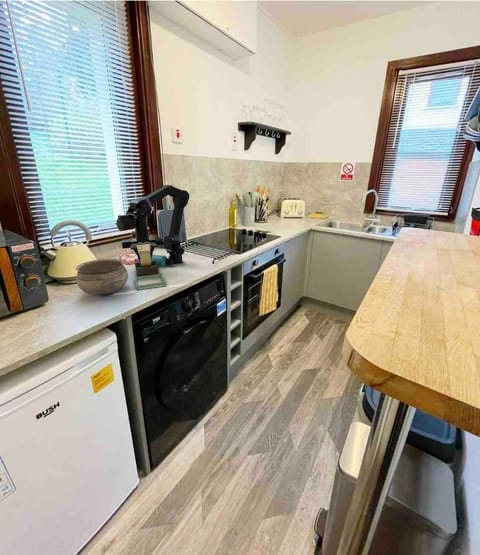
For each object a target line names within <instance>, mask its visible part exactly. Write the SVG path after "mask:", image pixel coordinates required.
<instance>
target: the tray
mask: <svg viewBox="0 0 480 555" xmlns="http://www.w3.org/2000/svg"><path fill="white" fill-rule="evenodd" d="M154 278H161V280H162V282H160V281H159V282H154V283H147V284H145V283H144V284H138V281H137V280H146V279H154ZM134 281H135V282H134V283H135V288H136V291H137V292H138V291H143V290H144V291H146V290H151V289H152V290H153V289H158V288H164V287H165V288H166V287H167V284H166V282H167V281H166V280H165V278H164V275H163V274H162V273H159V274H156V275H149V276H141V277H137V276H135V277H134Z"/></svg>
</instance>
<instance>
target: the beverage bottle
mask: <svg viewBox="0 0 480 555" xmlns="http://www.w3.org/2000/svg"><path fill="white" fill-rule="evenodd" d="M151 260H156V266H157V265H158V268H159V267H162V268H164V267H167V266H168V267H170V266H171V267H172V266H174V264H173V263H174V260H173V259H172V258H169V257H168V256H166V255H162V254H152V258H151ZM136 262H140V260H139V258H138V257H137V258H136Z"/></svg>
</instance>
